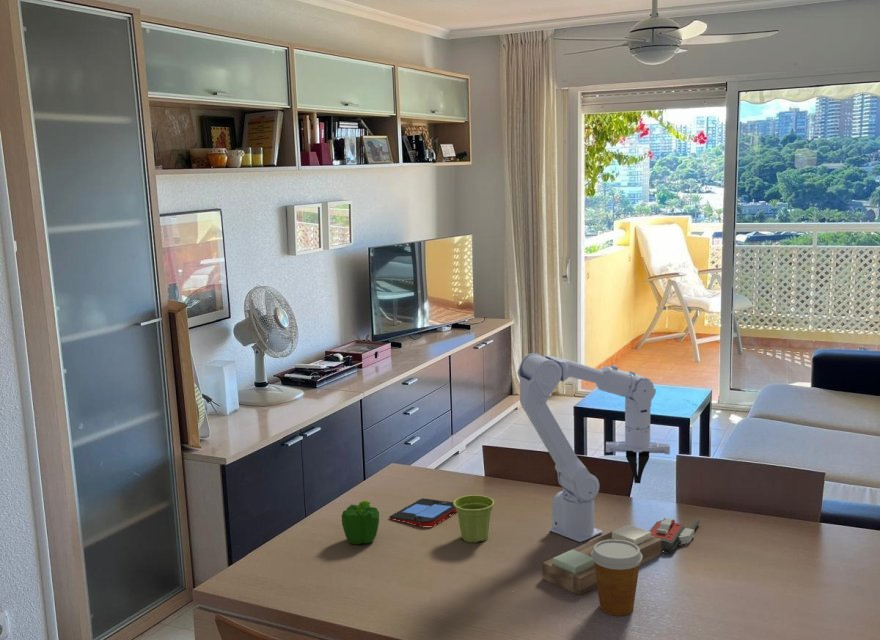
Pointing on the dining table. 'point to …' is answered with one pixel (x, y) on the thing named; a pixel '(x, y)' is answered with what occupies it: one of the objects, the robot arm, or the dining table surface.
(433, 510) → the game console
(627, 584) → the disposable coffee cup
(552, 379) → the robot arm
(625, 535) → the cream key
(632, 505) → the dining table surface
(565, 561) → the sage key
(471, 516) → the plant pot
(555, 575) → the key base
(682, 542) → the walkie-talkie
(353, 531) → the bell pepper
